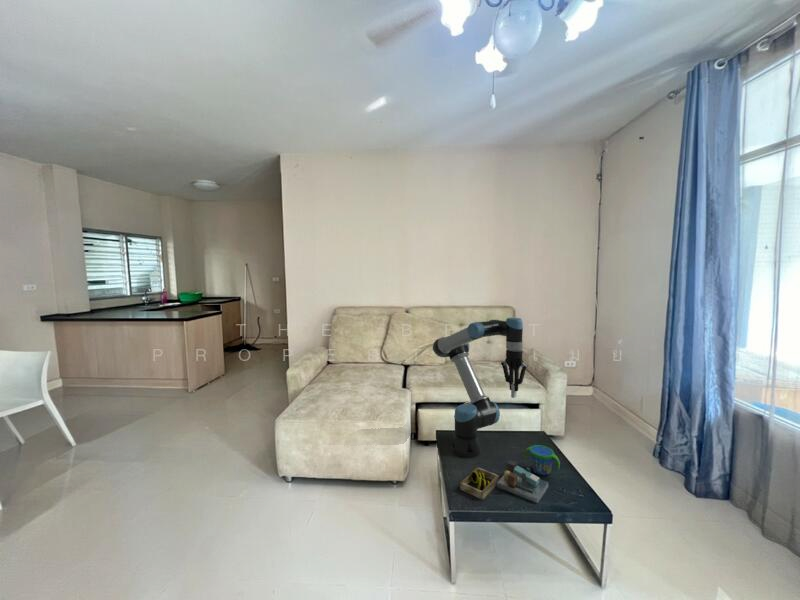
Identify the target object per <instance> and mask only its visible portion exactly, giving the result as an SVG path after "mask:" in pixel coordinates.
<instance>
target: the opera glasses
mask: <svg viewBox="0 0 800 600" xmlns="http://www.w3.org/2000/svg"><path fill="white" fill-rule="evenodd" d="M470 474H472V478H471V480H472V481H471V482H472V483H473V484H477V489H478V490H481V491H483V490H484V489H485V487H486V486H487V485H490V484H489V483H490V481H489V480H486V478H485V477H484V474H483V473H479V472H476V471H474V470H472V471H471V473H470Z"/></svg>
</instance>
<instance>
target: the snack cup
mask: <svg viewBox="0 0 800 600" xmlns="http://www.w3.org/2000/svg"><path fill="white" fill-rule="evenodd" d="M528 451H529V453H530V460H531V466H532V470H533V472H534V473H535V474H537V475H540V476H541V475H542V476H548V475H550V474H551V469H552V465H553V464H552V463H553V460H554V459H555V461H556V463H557V468H556V469H557V471H559V470H560V468H561V467H560V466H561V462H560V459H559V457H558V456H557V454H555V452H554V450H553V449H552V448H550V447H549V446H547V445H546V446H545V445H540V444H534V445H532V446H530V447H527V448H525V451H524V453H523V459H524V460H525V461H526V460H527V458H528V457H527V452H528Z"/></svg>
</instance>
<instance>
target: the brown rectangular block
mask: <svg viewBox="0 0 800 600" xmlns="http://www.w3.org/2000/svg"><path fill="white" fill-rule="evenodd" d="M508 485H511V486H513V487H515V486H516V485H517V474H514V473H512V472H510V473H509V474H508Z"/></svg>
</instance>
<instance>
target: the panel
mask: <svg viewBox="0 0 800 600" xmlns="http://www.w3.org/2000/svg"><path fill="white" fill-rule="evenodd" d="M525 470H526V471H528V472H530V473H531V468H530V467H526V468H525ZM496 487H497V488H499V489H501V490H504V491H506V492H509V493H511V494H514V495H516V496H519V497H521V498H523V499H525V500H529V501H530V502H533V503H536V504H538V503H539V501H540V500H541V498H542V497H543V496H544V495H545V492H546V491H547V490H548V488H549V482H548V481H546V480H543V479H541V478H540V480H539V483H538V484H537V486H536V487H535V486H533V485H532V484H530V483H528V482H527V481H526V474H525V473H522V478H520V477H518V476H517V485H516V486H515V487H513V486H511V485H508V480H506V479H505V478H504V474H503V475H502V476H501V478H499V481H498V482H497V485H496Z"/></svg>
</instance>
